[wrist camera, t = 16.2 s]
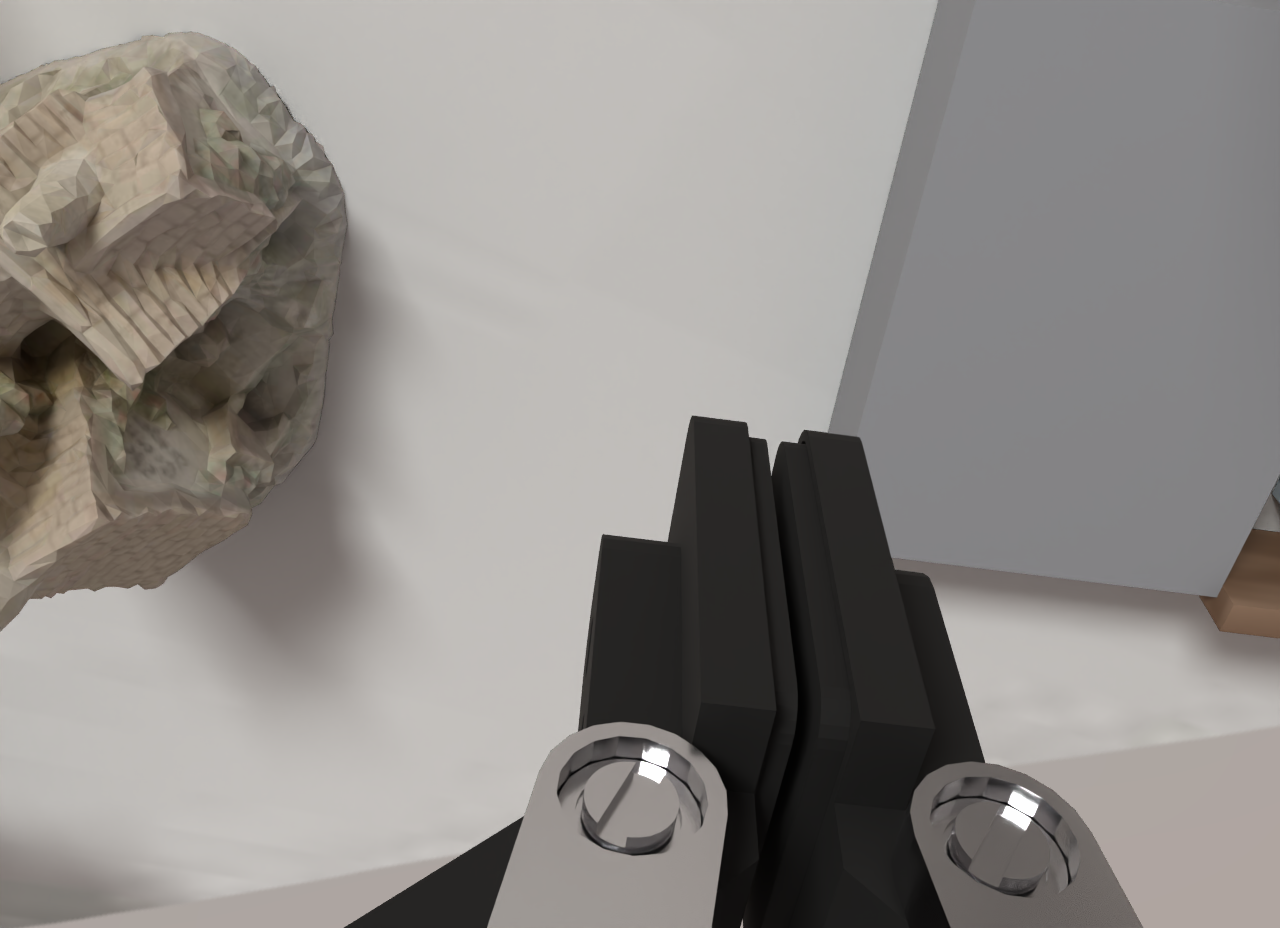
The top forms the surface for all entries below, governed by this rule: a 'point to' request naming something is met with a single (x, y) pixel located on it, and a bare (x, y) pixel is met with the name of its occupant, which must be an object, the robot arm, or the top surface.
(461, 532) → the top surface
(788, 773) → the robot arm
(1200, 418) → the grey flat block
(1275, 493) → the blue-grey tile
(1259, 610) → the box
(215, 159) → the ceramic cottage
